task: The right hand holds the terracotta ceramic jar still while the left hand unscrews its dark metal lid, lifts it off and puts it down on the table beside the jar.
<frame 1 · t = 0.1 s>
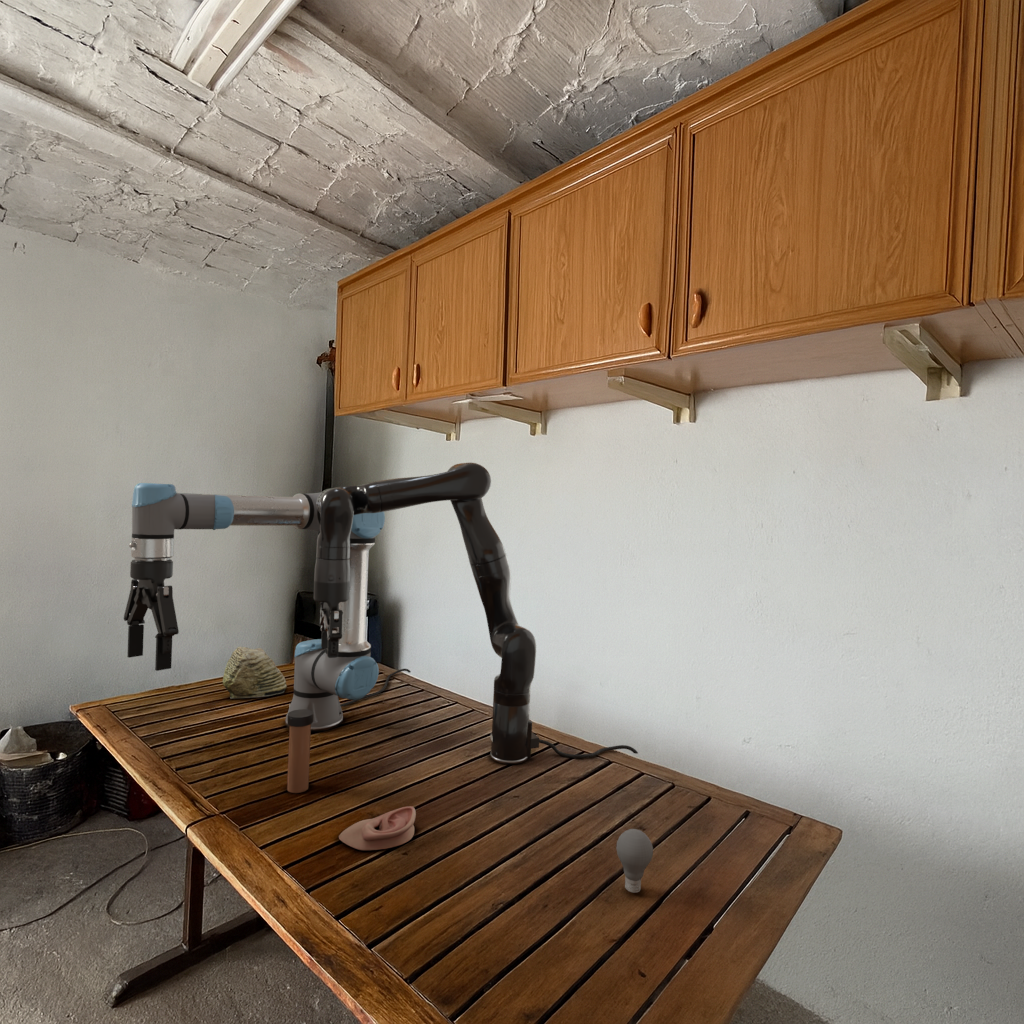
left hand: (148, 662, 129), 28 cm above the table, tool pointing down, fingers open, 13 cm apart
right hand: (329, 652, 139), 29 cm above the table, tool pointing down, fingers open, 8 cm apart
light bulb: (632, 891, 106), on the table
anatomical model: (377, 836, 119), on the table
lid: (300, 714, 137), point 16 cm above the table, screwed on, not yet turned
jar: (297, 788, 137), on the table
fossil: (254, 694, 198), on the table
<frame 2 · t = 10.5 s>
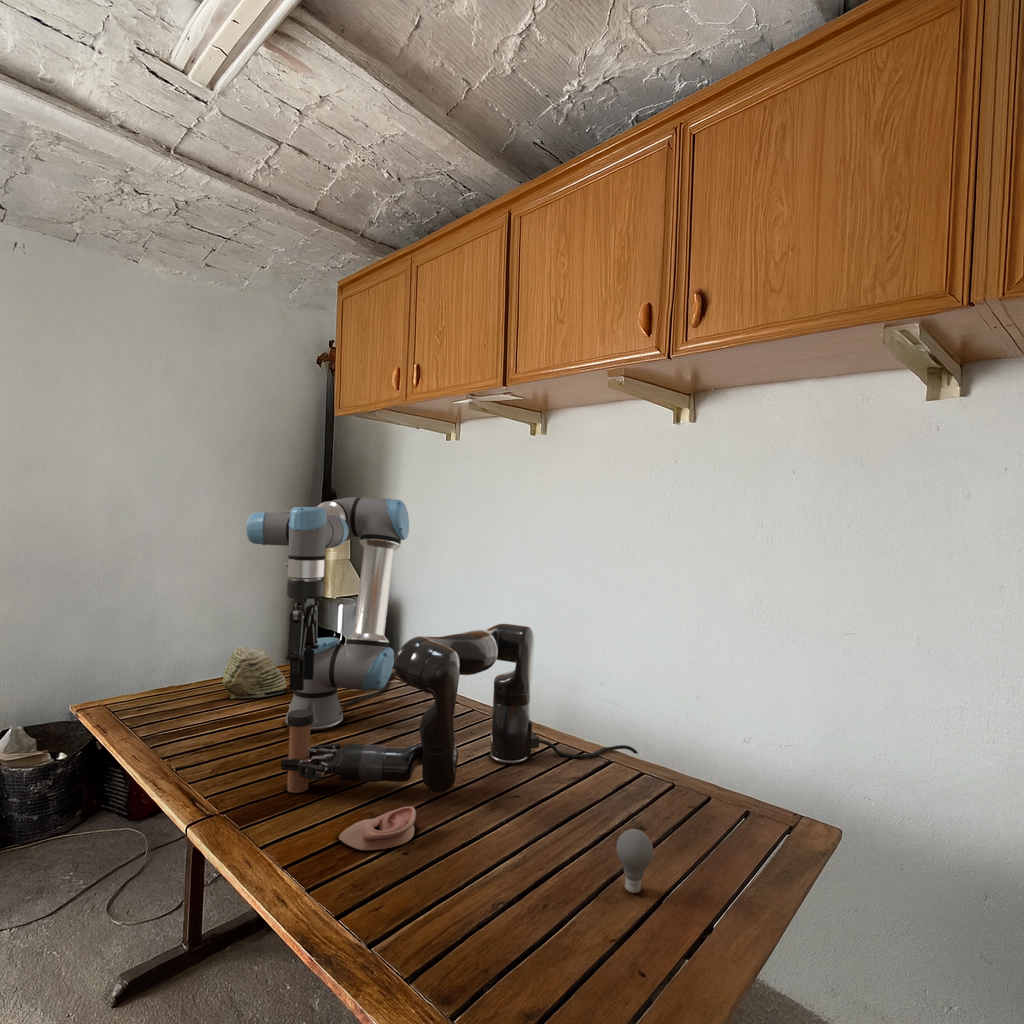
left hand: (301, 684, 137), 23 cm above the table, tool pointing down, fingers open, 7 cm apart
right hand: (286, 759, 137), 6 cm above the table, tool horizontal, fingers closed on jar, 4 cm apart
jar: (297, 788, 137), on the table, touching right hand
everything else where it was.
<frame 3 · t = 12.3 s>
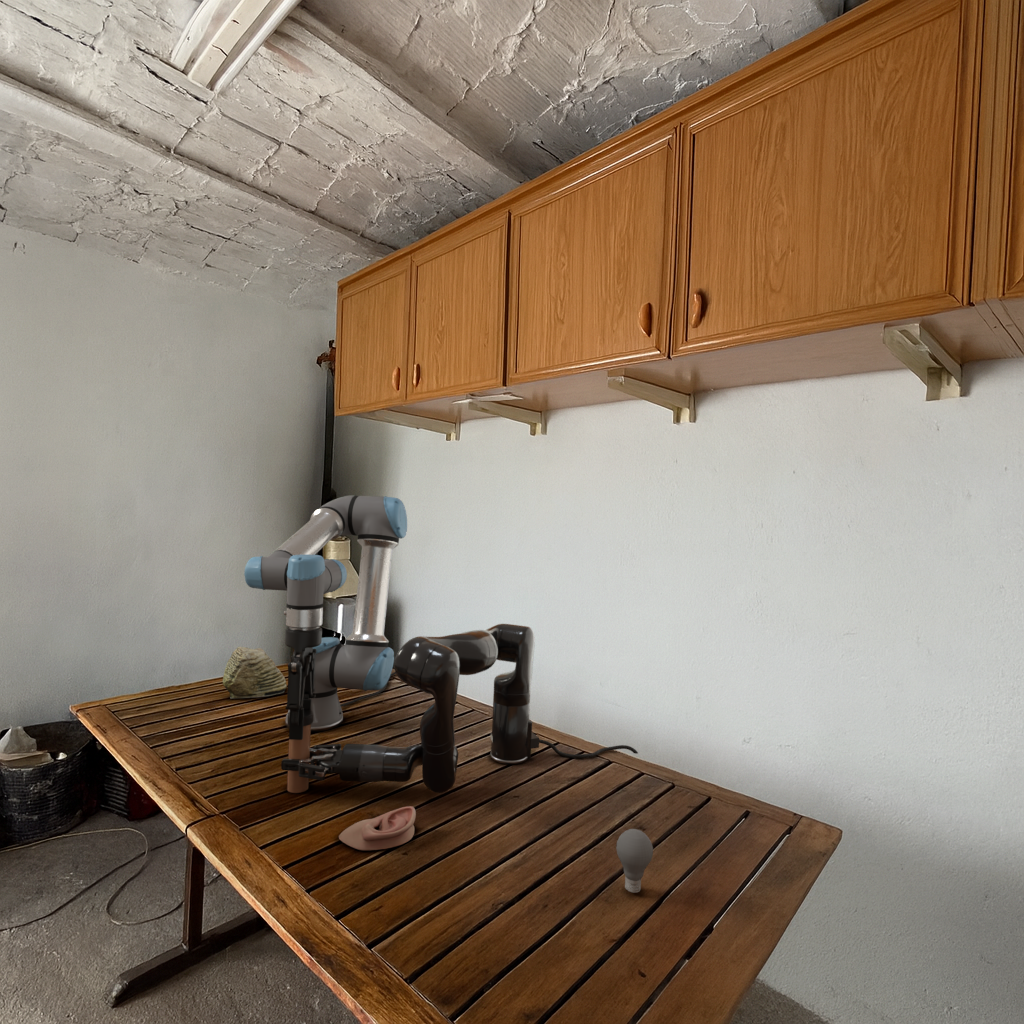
left hand: (299, 733, 137), 12 cm above the table, tool pointing down, fingers closed on lid, 5 cm apart
right hand: (286, 759, 137), 6 cm above the table, tool horizontal, fingers closed on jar, 4 cm apart
lid: (300, 714, 137), point 16 cm above the table, screwed on, not yet turned, touching left hand
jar: (297, 788, 137), on the table, touching right hand
everything else where it was.
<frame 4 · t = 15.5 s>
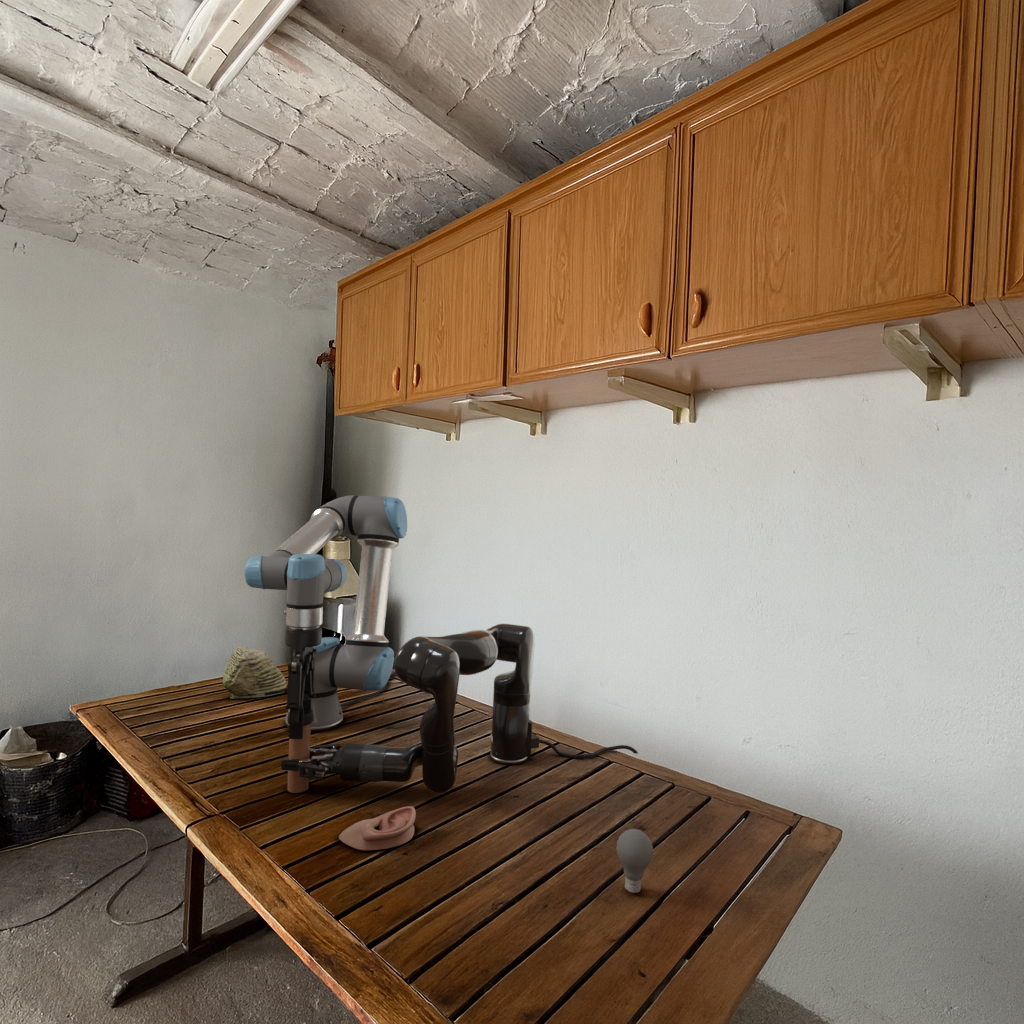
left hand: (299, 733, 137), 12 cm above the table, tool pointing down, fingers closed on lid, 5 cm apart
right hand: (286, 759, 137), 6 cm above the table, tool horizontal, fingers closed on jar, 4 cm apart
lid: (300, 714, 137), point 16 cm above the table, turned 86° so far, risen 0.1 cm, still on its thread, touching left hand
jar: (297, 788, 137), on the table, touching right hand
everything else where it was.
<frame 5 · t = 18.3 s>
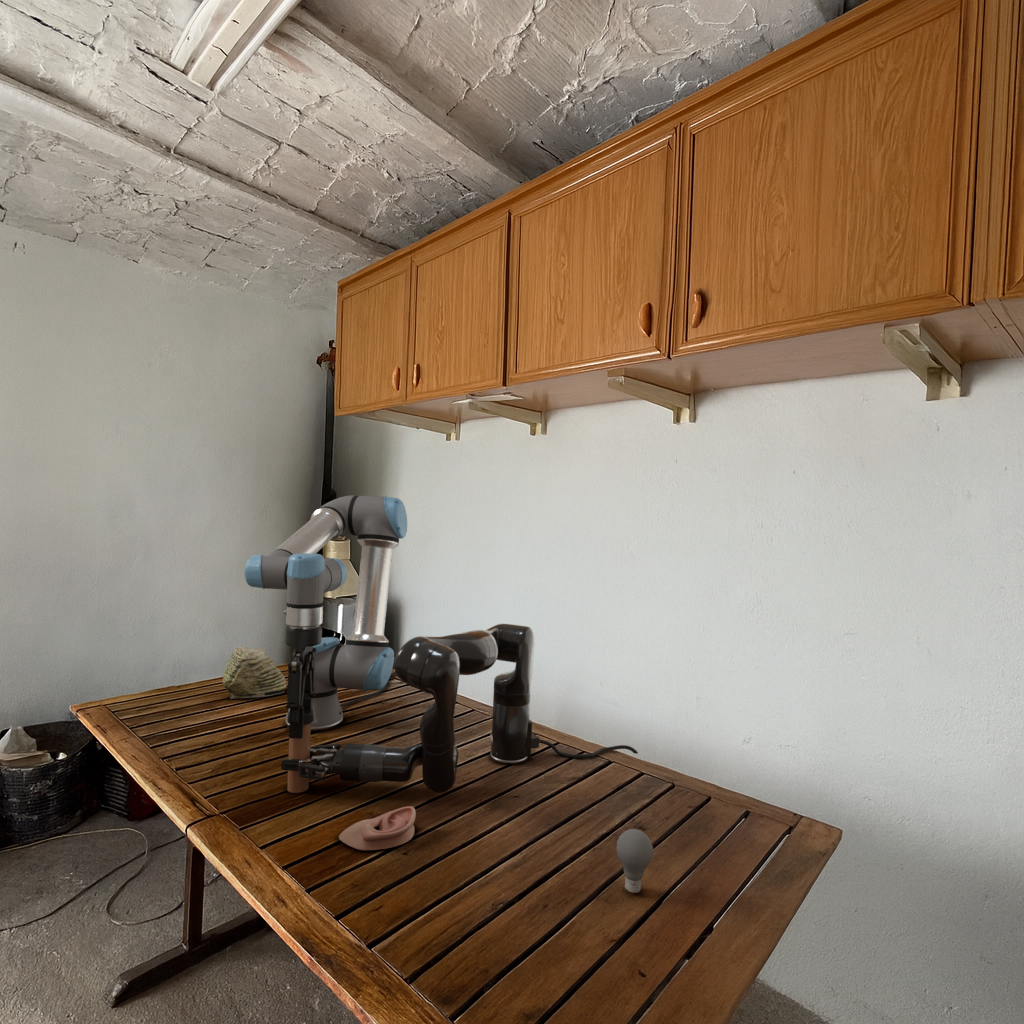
left hand: (299, 732, 137), 12 cm above the table, tool pointing down, fingers closed on lid, 5 cm apart
right hand: (286, 759, 137), 6 cm above the table, tool horizontal, fingers closed on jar, 4 cm apart
lid: (300, 713, 137), point 16 cm above the table, turned 172° so far, risen 0.3 cm, still on its thread, touching left hand
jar: (297, 788, 137), on the table, touching right hand
everything else where it was.
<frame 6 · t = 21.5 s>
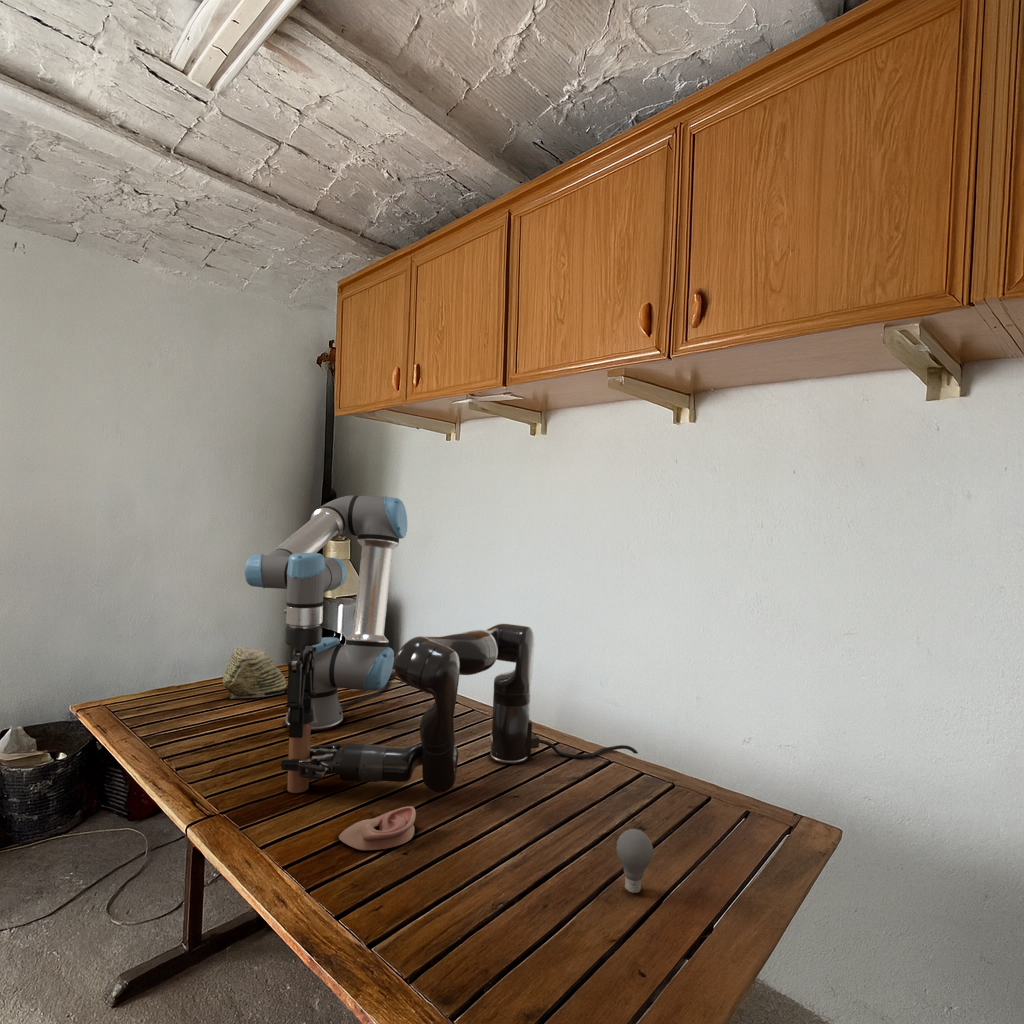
left hand: (300, 731, 137), 12 cm above the table, tool pointing down, fingers closed on lid, 5 cm apart
right hand: (286, 759, 137), 6 cm above the table, tool horizontal, fingers closed on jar, 4 cm apart
lid: (300, 713, 137), point 16 cm above the table, turned 258° so far, risen 0.4 cm, still on its thread, touching left hand
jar: (297, 788, 137), on the table, touching right hand
everything else where it was.
when the left hand's fingers open (0 cm above the table, at t = 28.4 s): lid drops 3 cm, point 2 cm above the table.
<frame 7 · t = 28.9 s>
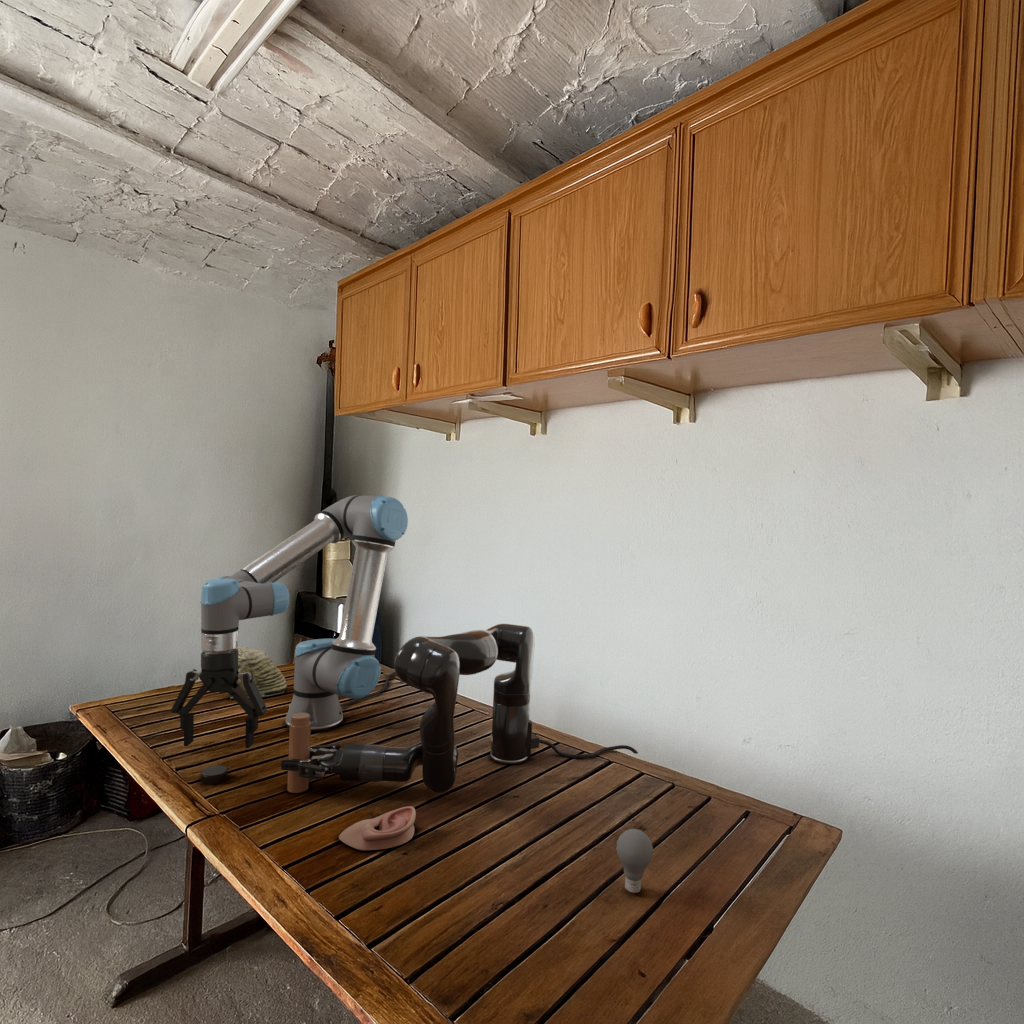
left hand: (219, 744, 140), 7 cm above the table, tool pointing down, fingers open, 13 cm apart
right hand: (286, 759, 137), 6 cm above the table, tool horizontal, fingers closed on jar, 4 cm apart
lid: (214, 771, 140), point 2 cm above the table, off its thread
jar: (297, 788, 137), on the table, touching right hand
everything else where it was.
when the right hand's fingers open (6 cm above the table, at t = 29.0 s): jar stays where it is, on the table.
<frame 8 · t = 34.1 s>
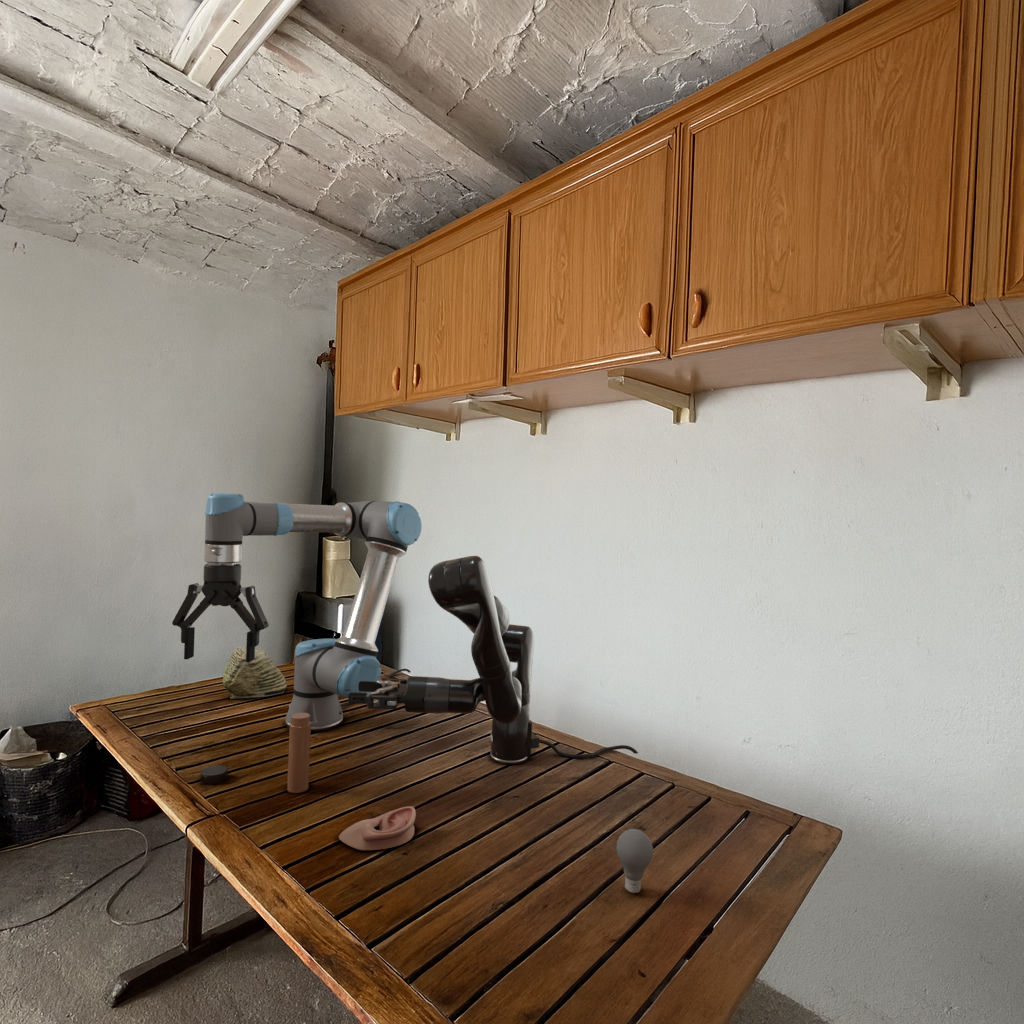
left hand: (219, 659, 139), 26 cm above the table, tool pointing down, fingers open, 13 cm apart
right hand: (354, 691, 137), 22 cm above the table, tool horizontal, fingers open, 8 cm apart
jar: (297, 788, 137), on the table
everything else where it was.
at the end: lid came off its thread; lid point 1.6 cm above the table; the left hand is holding nothing; the right hand is holding nothing; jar tilted 0°; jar moved 0.0 cm from its start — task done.
